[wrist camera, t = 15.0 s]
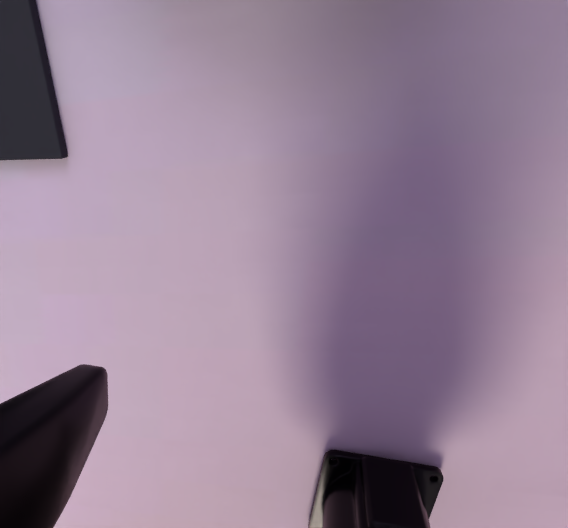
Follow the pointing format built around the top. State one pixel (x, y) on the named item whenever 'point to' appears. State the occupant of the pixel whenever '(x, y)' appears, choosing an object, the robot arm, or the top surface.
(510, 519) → the top surface
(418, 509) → the robot arm
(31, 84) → the mat
